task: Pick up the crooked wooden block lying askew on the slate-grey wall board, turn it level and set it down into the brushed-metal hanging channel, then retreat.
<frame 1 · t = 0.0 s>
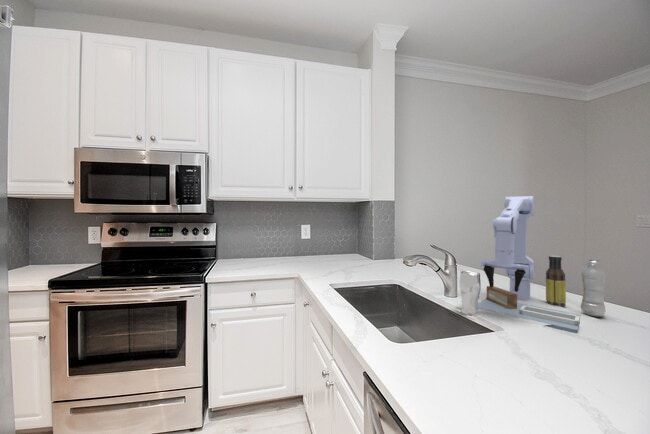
hand: (503, 288, 103), 10 cm above the worktop, fingers open, 7 cm apart
plastic bottle: (592, 316, 105), on the worktop
wall board: (525, 313, 107), on the worktop
wooden block: (500, 303, 115), point 1 cm above the worktop, touching wall board
beer glass: (469, 313, 107), on the worktop
sauce bottle: (555, 306, 115), on the worktop
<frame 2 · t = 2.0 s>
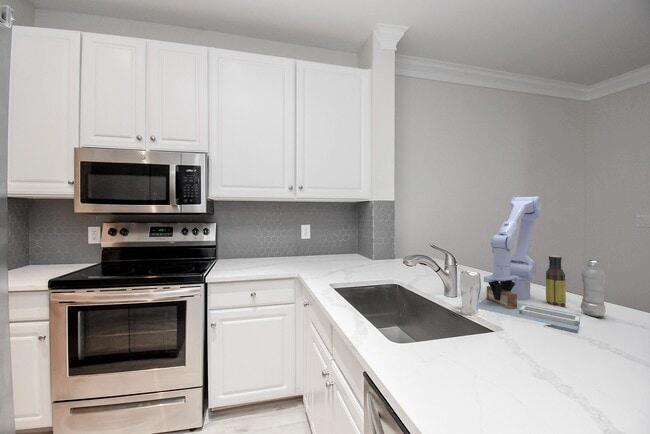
hand: (501, 299, 115), 3 cm above the worktop, fingers closed on wooden block, 3 cm apart
wooden block: (500, 303, 115), point 1 cm above the worktop, touching gripper, wall board
everything else where it was.
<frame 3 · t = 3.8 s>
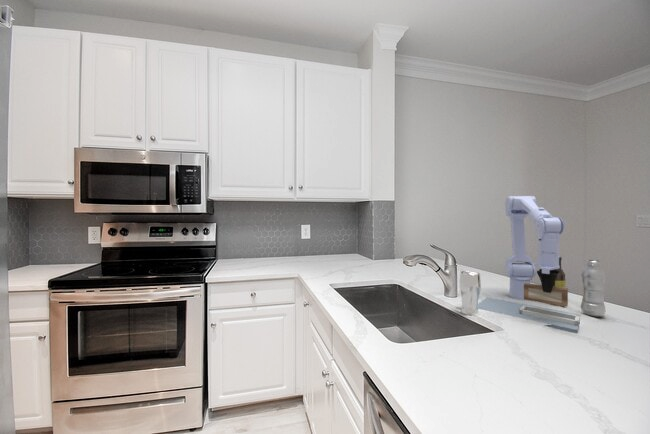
hand: (547, 291, 101), 10 cm above the worktop, fingers closed on wooden block, 3 cm apart
wooden block: (545, 301, 101), point 6 cm above the worktop, touching gripper
everything else where it was.
when the fingers open (4 cm above the worktop, at t = 5.7 s): wooden block stays where it is, resting on wall board.
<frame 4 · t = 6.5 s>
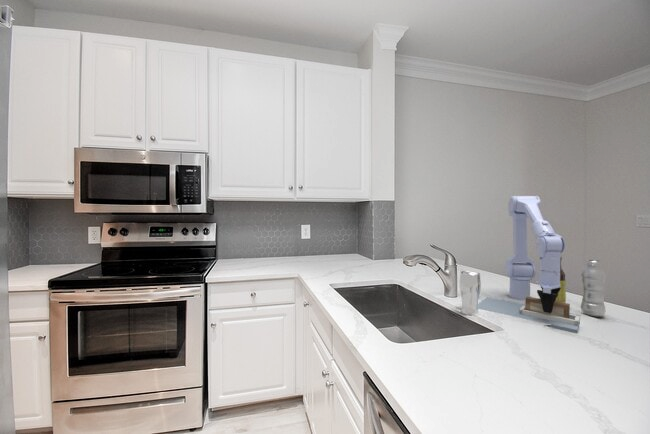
hand: (548, 309, 101), 4 cm above the worktop, fingers open, 7 cm apart
wooden block: (546, 316, 101), point 1 cm above the worktop, touching wall board
everything else where it was.
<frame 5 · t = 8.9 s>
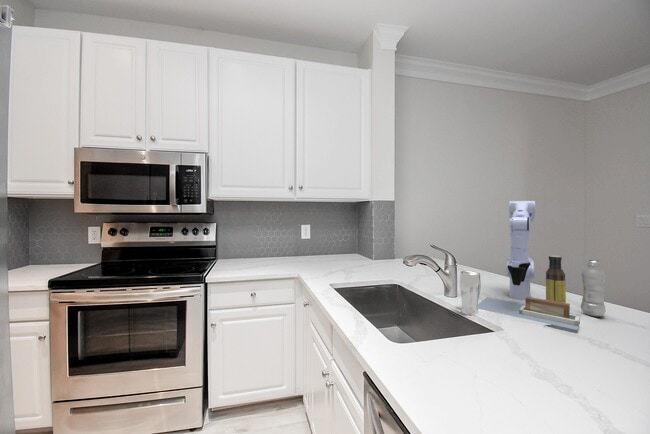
hand: (518, 283, 112), 10 cm above the worktop, fingers open, 7 cm apart
nothing on the worktop moved.
at the end: wooden block 0.5 cm from the target spot on the wall board, point 1.0 cm above the wall board's base; wooden block tilted 0°; the gripper is holding nothing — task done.
